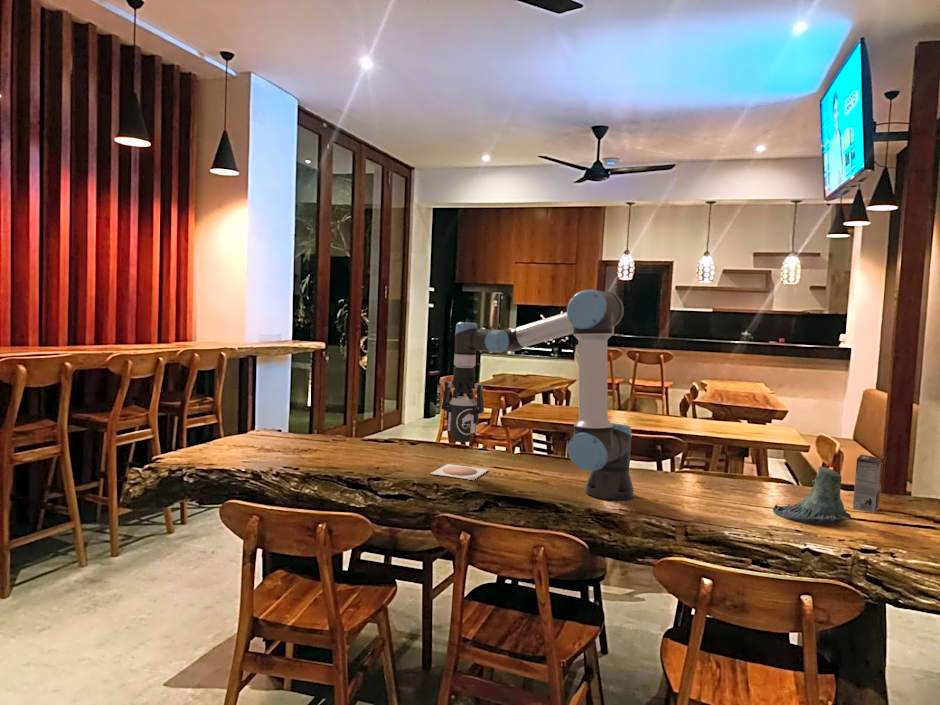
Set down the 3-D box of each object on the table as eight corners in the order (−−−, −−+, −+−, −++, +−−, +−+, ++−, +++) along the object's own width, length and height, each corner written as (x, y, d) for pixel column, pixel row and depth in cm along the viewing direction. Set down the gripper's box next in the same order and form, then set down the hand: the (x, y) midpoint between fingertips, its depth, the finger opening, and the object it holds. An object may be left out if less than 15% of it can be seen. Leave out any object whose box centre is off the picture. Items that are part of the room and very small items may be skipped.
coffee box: (856, 503, 207) (860, 454, 206) (879, 507, 203) (884, 457, 202) (851, 509, 200) (855, 458, 199) (875, 513, 196) (880, 462, 195)
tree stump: (786, 504, 203) (806, 453, 200) (852, 537, 189) (874, 482, 185) (761, 511, 191) (781, 457, 188) (829, 546, 177) (853, 488, 173)
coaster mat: (488, 471, 228) (488, 468, 228) (473, 481, 213) (473, 478, 213) (447, 465, 234) (447, 463, 234) (429, 475, 219) (429, 472, 219)
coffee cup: (476, 438, 227) (478, 397, 226) (473, 444, 218) (475, 400, 217) (449, 436, 228) (451, 395, 227) (445, 442, 219) (448, 398, 218)
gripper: (496, 368, 221) (492, 432, 223) (441, 363, 228) (438, 426, 230) (489, 369, 214) (485, 436, 216) (433, 365, 221) (430, 429, 223)
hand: (461, 431), depth 223 cm, fingers closed on coffee cup, 8 cm apart
